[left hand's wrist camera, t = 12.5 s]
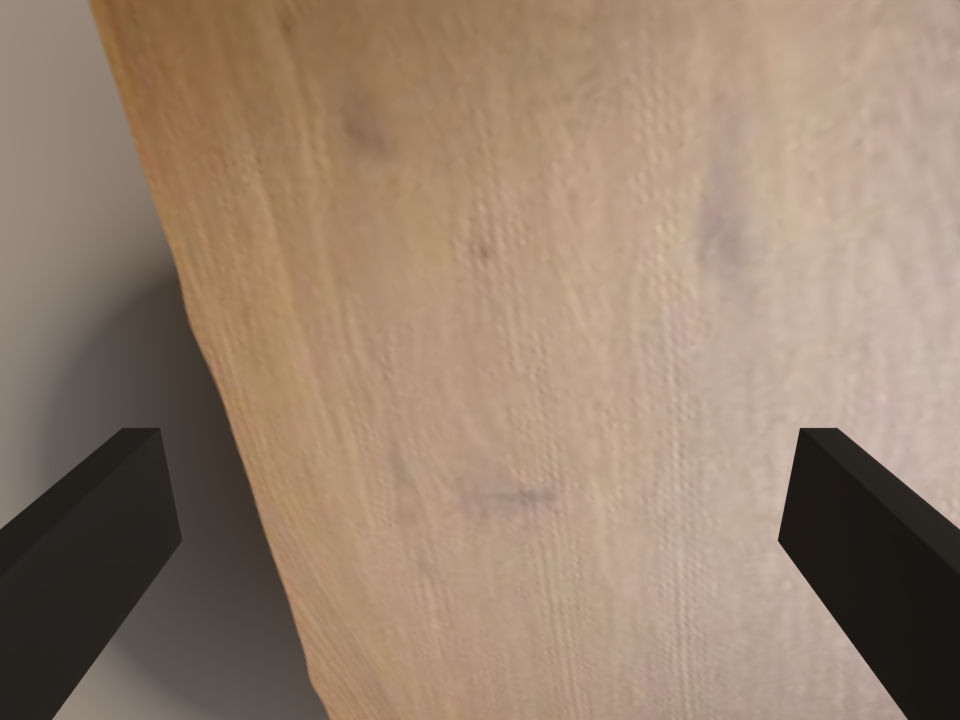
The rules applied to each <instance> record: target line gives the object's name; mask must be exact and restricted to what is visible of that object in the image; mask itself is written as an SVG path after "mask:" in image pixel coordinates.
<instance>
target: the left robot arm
mask: <svg viewBox="0 0 960 720" xmlns="http://www.w3.org/2000/svg"><path fill="white" fill-rule="evenodd" d="M181 542H182V537H181V532H180V527H179V522H178V517H177V512H176V507H175V502H174V497H173V492H172V486H171V481H170V476H169V471H168V466H167V461H166V456H165V451H164V446H163V441H162V436H161V431H160V428H122V429H121V430H120V431H118V432H117V433H116V434H115V435H114V436H112V437H111V438H110V439H109V440H108V441H106V442H105V443H104V444H103V445H102V446H100V447H99V448H98V449H97V450H96V451H94V452H93V453H92V454H91V455H89V456H88V457H87V458H86V459H85V460H83V461H82V462H81V463H80V464H79V465H78V466H76V467H75V468H74V469H73V470H71V471H70V472H69V473H68V474H67V475H65V476H64V477H63V478H62V479H61V480H59V481H58V482H57V483H56V484H55V485H53V486H52V487H51V488H50V489H49V490H47V491H46V492H45V493H44V494H43V495H41V496H40V497H39V498H38V499H36V500H35V501H34V502H33V503H32V504H31V505H29V506H28V507H27V508H26V509H25V510H23V511H22V512H21V513H20V514H18V515H17V516H16V517H15V518H14V519H12V520H11V521H10V522H9V523H8V524H6V525H5V526H4V527H3V528H2V529H0V720H52V719H53V718H54V716H55V715H56V713H57V712H58V711H59V709H60V708H61V707H62V705H63V704H64V702H65V701H66V700H67V698H68V697H69V696H70V694H71V693H72V691H73V690H74V689H75V687H76V686H77V685H78V683H79V682H80V680H81V679H82V678H83V676H84V675H85V674H86V672H87V671H88V669H89V668H90V667H91V665H92V664H93V663H94V661H95V660H96V658H97V657H98V656H99V654H100V653H101V652H102V650H103V649H104V648H105V646H106V645H107V643H108V642H109V641H110V639H111V638H112V637H113V635H114V634H115V632H116V631H117V630H118V628H119V627H120V625H121V624H122V623H123V621H124V620H125V619H126V617H127V616H128V614H129V613H130V612H131V610H132V609H133V608H134V606H135V605H136V604H137V602H138V601H139V599H140V598H141V597H142V595H143V594H144V592H145V591H146V590H147V588H148V587H149V586H150V584H151V583H152V582H153V580H154V579H155V577H156V576H157V575H158V573H159V572H160V570H161V569H162V568H163V566H164V565H165V564H166V562H167V561H168V560H169V558H170V557H171V555H172V554H173V553H174V551H175V550H176V549H177V547H178V546H179V544H180V543H181ZM778 542H779V543H780V544H781V546H782V547H783V549H784V550H785V551H786V553H787V554H788V555H789V557H790V558H791V560H792V561H793V562H794V564H795V565H796V566H797V568H798V569H799V571H800V572H801V573H802V575H803V576H804V577H805V579H806V580H807V582H808V583H809V584H810V586H811V587H812V588H813V590H814V591H815V593H816V594H817V595H818V597H819V598H820V599H821V601H822V602H823V604H824V605H825V606H826V608H827V609H828V610H829V612H830V613H831V615H832V616H833V617H834V619H835V620H836V621H837V623H838V624H839V626H840V627H841V628H842V630H843V631H844V632H845V634H846V635H847V637H848V638H849V639H850V641H851V642H852V643H853V645H854V646H855V648H856V649H857V650H858V652H859V653H860V654H861V656H862V657H863V659H864V660H865V661H866V663H867V664H868V665H869V667H870V668H871V669H872V671H873V672H874V674H875V675H876V676H877V678H878V679H879V680H880V682H881V683H882V685H883V686H884V687H885V689H886V690H887V691H888V693H889V694H890V696H891V697H892V698H893V700H894V701H895V702H896V704H897V705H898V707H899V708H900V709H901V711H902V712H903V713H904V715H905V716H906V718H907V719H908V720H960V529H958V528H957V527H956V526H955V525H954V524H952V523H951V522H950V521H949V520H948V519H946V518H945V517H944V516H943V515H942V514H940V513H939V512H938V511H937V510H936V509H934V508H933V507H932V506H931V505H930V504H928V503H927V502H926V501H925V500H924V499H922V498H921V497H920V496H919V495H918V494H916V493H915V492H914V491H913V490H911V489H910V488H909V487H908V486H907V485H905V484H904V483H903V482H902V481H901V480H899V479H898V478H897V477H896V476H895V475H893V474H892V473H891V472H890V471H889V470H887V469H886V468H885V467H884V466H883V465H881V464H880V463H879V462H878V461H877V460H875V459H874V458H873V457H872V456H871V455H869V454H868V453H867V452H866V451H864V450H863V449H862V448H861V447H860V446H858V445H857V444H856V443H855V442H854V441H852V440H851V439H850V438H849V437H848V436H846V435H845V434H844V433H843V432H842V431H840V430H839V429H838V428H800V431H799V436H798V441H797V446H796V451H795V456H794V461H793V466H792V471H791V476H790V481H789V486H788V492H787V497H786V502H785V507H784V512H783V517H782V522H781V527H780V532H779V537H778Z"/></svg>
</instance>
